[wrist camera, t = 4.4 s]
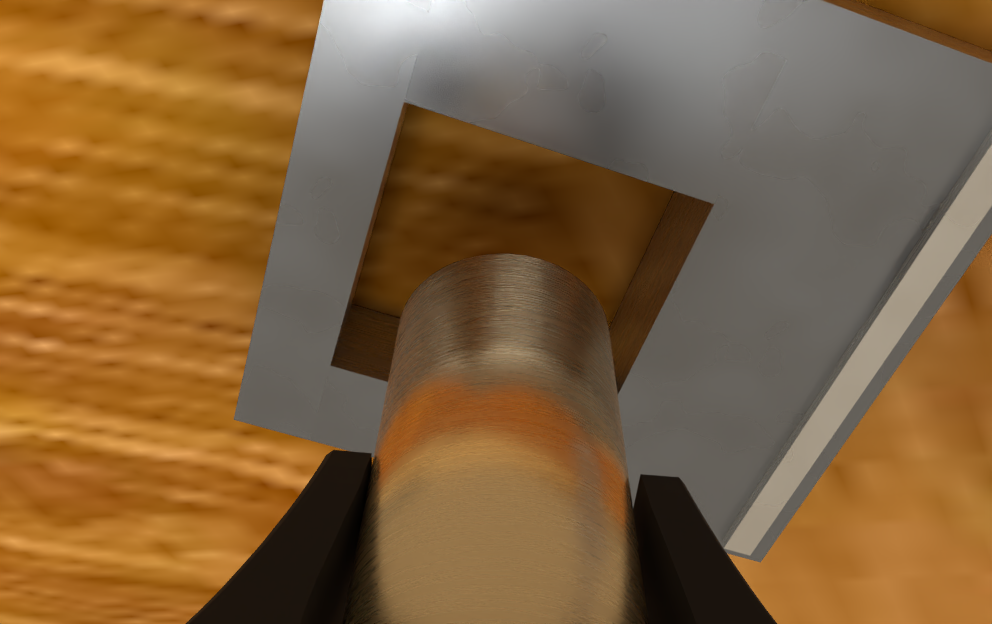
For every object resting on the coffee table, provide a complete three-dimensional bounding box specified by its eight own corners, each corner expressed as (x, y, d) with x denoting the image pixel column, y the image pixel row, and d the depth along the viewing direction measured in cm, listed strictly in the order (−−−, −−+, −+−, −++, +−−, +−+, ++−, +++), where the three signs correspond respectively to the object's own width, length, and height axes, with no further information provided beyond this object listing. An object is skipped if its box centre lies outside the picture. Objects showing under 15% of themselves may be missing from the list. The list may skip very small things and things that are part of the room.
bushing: (637, 253, 15) (725, 684, 8) (602, 433, 18) (649, 867, 11) (386, 235, 15) (282, 657, 8) (388, 419, 17) (310, 849, 11)
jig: (1013, 59, 20) (1095, 103, 17) (738, 488, 27) (763, 570, 24) (385, -176, 18) (358, -171, 15) (264, 354, 25) (230, 427, 22)
